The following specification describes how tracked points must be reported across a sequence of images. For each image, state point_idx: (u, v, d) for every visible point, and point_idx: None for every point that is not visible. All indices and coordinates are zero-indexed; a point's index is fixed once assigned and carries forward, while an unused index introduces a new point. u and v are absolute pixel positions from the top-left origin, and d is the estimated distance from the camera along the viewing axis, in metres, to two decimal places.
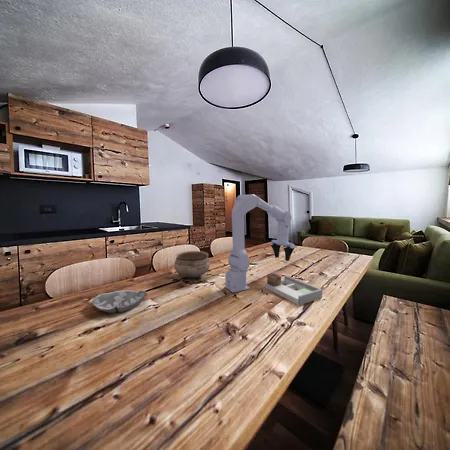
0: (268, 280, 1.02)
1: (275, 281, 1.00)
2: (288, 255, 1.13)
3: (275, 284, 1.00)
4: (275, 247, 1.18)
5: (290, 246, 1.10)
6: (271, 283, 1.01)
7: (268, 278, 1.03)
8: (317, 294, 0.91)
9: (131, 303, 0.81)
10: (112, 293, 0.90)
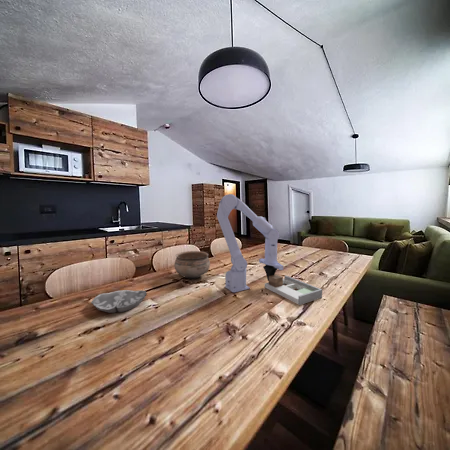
0: (270, 280, 1.01)
1: (277, 282, 0.99)
2: None
3: (277, 285, 0.99)
4: None
5: (278, 268, 0.98)
6: (273, 284, 1.00)
7: (269, 278, 1.02)
8: (317, 294, 0.91)
9: (131, 303, 0.81)
10: (112, 293, 0.90)
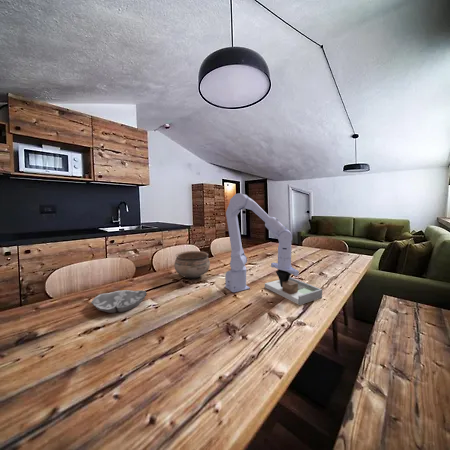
0: (284, 287, 0.94)
1: (292, 288, 0.91)
2: (285, 280, 0.96)
3: (292, 292, 0.92)
4: None
5: (293, 273, 0.90)
6: (287, 290, 0.92)
7: (283, 284, 0.94)
8: (317, 294, 0.91)
9: (131, 303, 0.81)
10: (112, 293, 0.90)
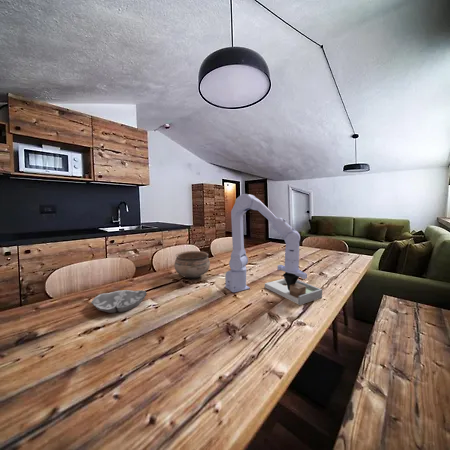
0: (291, 290, 0.90)
1: (300, 292, 0.88)
2: None
3: None
4: None
5: (302, 276, 0.87)
6: (295, 294, 0.89)
7: (290, 288, 0.91)
8: (317, 294, 0.91)
9: (131, 303, 0.81)
10: (112, 293, 0.90)
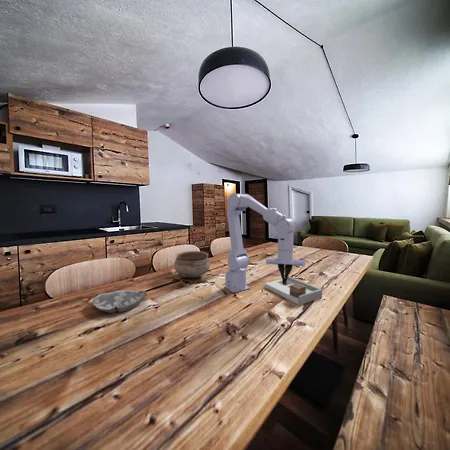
0: (291, 290, 0.90)
1: (300, 292, 0.88)
2: None
3: None
4: None
5: (302, 264, 0.83)
6: (295, 294, 0.89)
7: (290, 288, 0.91)
8: (317, 294, 0.91)
9: (131, 303, 0.81)
10: (112, 293, 0.90)
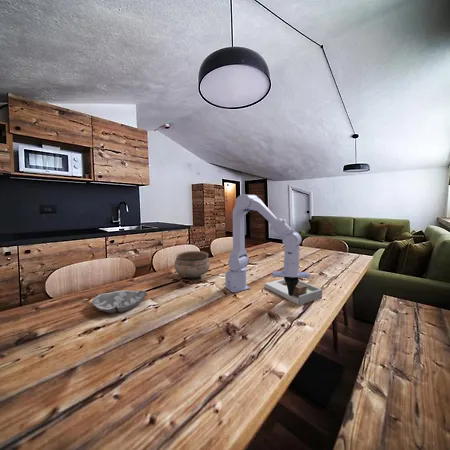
0: None
1: (300, 291, 0.88)
2: None
3: None
4: None
5: (308, 276, 0.87)
6: (296, 294, 0.89)
7: None
8: (317, 294, 0.91)
9: (131, 303, 0.81)
10: (112, 293, 0.90)
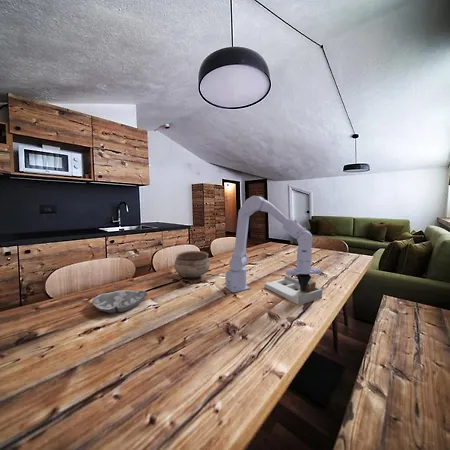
0: None
1: (310, 287, 0.93)
2: None
3: (310, 291, 0.93)
4: None
5: (319, 272, 0.92)
6: (306, 290, 0.93)
7: None
8: (317, 294, 0.91)
9: (131, 303, 0.81)
10: (112, 293, 0.90)
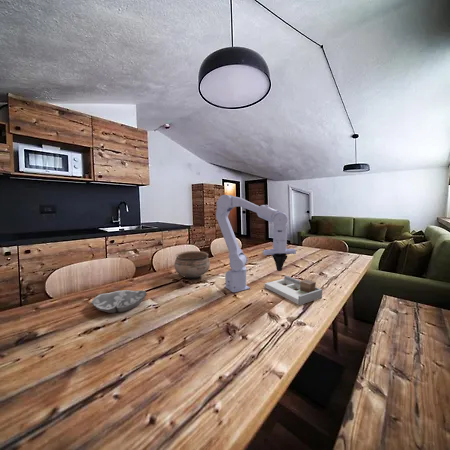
0: (302, 286, 0.95)
1: (310, 287, 0.93)
2: None
3: (310, 291, 0.93)
4: None
5: (294, 252, 0.96)
6: (306, 290, 0.93)
7: (301, 284, 0.95)
8: (317, 294, 0.91)
9: (131, 303, 0.81)
10: (112, 293, 0.90)
